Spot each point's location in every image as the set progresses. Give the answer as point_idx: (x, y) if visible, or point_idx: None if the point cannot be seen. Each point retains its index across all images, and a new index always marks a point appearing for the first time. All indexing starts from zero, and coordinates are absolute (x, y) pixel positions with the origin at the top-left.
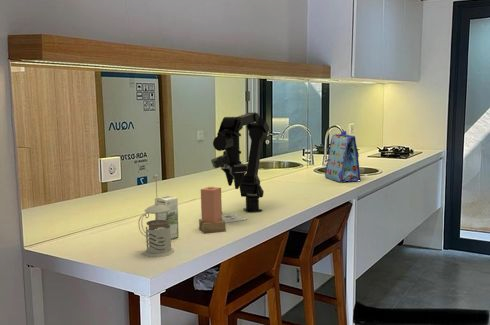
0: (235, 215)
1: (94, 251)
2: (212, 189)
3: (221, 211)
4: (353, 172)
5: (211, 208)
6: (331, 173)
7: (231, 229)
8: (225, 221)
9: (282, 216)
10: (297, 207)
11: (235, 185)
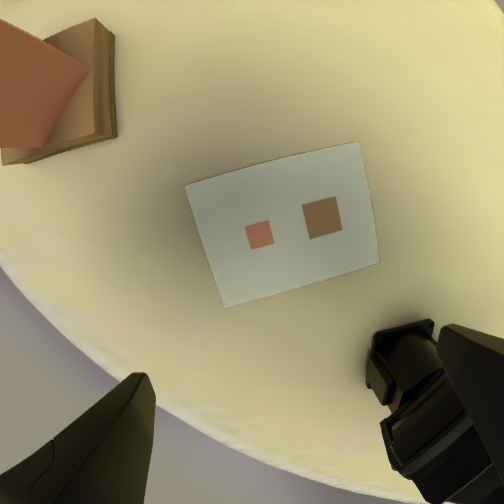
0: (337, 265)
1: None
2: None
3: (10, 145)
4: None
5: None
6: None
7: (49, 192)
8: (204, 180)
9: (243, 433)
10: (353, 466)
11: (99, 403)
